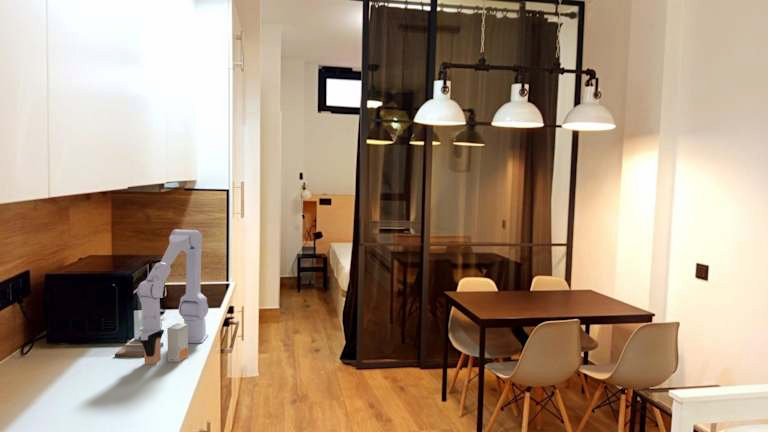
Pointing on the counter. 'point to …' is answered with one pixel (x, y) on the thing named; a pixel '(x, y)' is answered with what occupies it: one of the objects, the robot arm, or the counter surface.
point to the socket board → (132, 349)
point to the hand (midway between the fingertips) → (152, 353)
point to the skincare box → (177, 342)
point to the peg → (157, 354)
